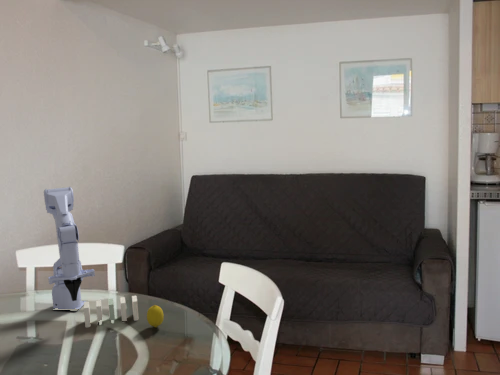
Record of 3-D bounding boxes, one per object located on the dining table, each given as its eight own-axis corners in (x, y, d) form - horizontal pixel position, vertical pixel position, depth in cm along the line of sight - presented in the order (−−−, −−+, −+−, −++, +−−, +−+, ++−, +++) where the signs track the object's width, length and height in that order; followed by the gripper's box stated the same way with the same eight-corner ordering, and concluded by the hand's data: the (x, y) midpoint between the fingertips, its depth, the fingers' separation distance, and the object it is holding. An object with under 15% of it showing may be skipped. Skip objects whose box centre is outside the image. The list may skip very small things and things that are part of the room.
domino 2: (97, 325, 180) (96, 306, 178) (97, 319, 184) (96, 300, 183) (102, 325, 180) (101, 306, 179) (102, 318, 185) (100, 299, 183)
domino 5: (134, 320, 183) (132, 301, 181) (133, 314, 187) (131, 296, 186) (138, 320, 183) (137, 301, 182) (137, 313, 188) (136, 295, 186)
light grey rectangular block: (85, 327, 179) (83, 308, 177) (85, 321, 183) (84, 302, 182) (90, 326, 179) (88, 307, 178) (90, 320, 184) (88, 301, 182)
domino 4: (122, 322, 182) (120, 303, 180) (121, 316, 186) (120, 297, 185) (126, 321, 182) (125, 302, 181) (126, 315, 187) (124, 296, 185)
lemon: (148, 324, 180) (146, 302, 178) (164, 323, 181) (163, 301, 179) (146, 331, 175) (145, 309, 173) (163, 330, 175) (162, 308, 173)
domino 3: (110, 324, 181) (108, 305, 179) (109, 317, 185) (108, 299, 184) (115, 323, 181) (113, 304, 180) (114, 317, 186) (113, 298, 184)
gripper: (48, 269, 169) (52, 308, 172) (95, 261, 175) (98, 299, 178) (46, 262, 175) (50, 300, 178) (91, 254, 181) (94, 292, 184)
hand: (74, 299), depth 178 cm, fingers closed
